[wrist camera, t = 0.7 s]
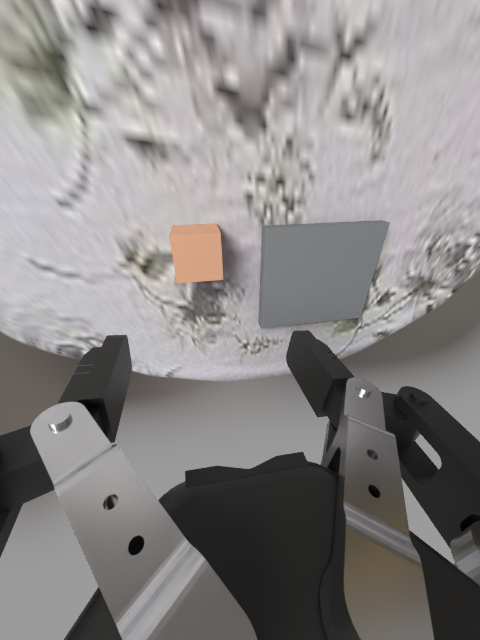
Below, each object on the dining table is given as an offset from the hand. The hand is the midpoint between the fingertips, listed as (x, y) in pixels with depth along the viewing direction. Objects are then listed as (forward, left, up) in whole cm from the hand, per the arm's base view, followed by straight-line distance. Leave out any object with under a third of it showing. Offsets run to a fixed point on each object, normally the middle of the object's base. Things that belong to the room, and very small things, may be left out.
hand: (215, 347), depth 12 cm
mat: (-15, +5, -20) cm, 26 cm away
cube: (+1, 0, -20) cm, 20 cm away
